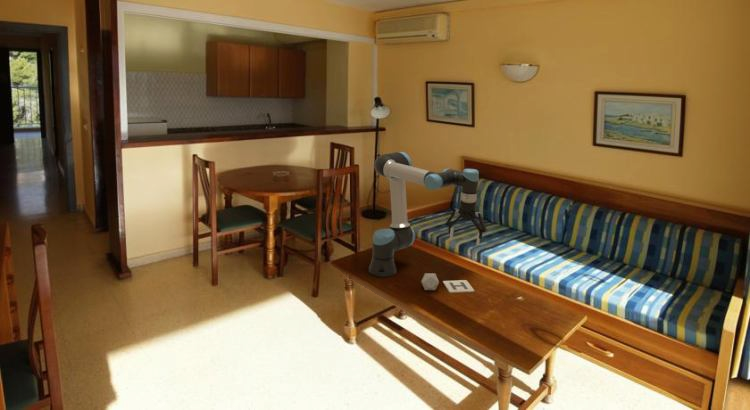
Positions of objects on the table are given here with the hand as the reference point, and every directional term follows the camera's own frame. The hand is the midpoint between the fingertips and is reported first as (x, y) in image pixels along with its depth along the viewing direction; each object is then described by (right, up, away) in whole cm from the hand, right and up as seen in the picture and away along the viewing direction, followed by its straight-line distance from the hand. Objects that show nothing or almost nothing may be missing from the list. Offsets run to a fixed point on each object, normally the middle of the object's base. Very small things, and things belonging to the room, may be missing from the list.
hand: (464, 242), depth 243 cm
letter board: (-1, -24, +12) cm, 27 cm away
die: (-16, -25, +8) cm, 31 cm away
